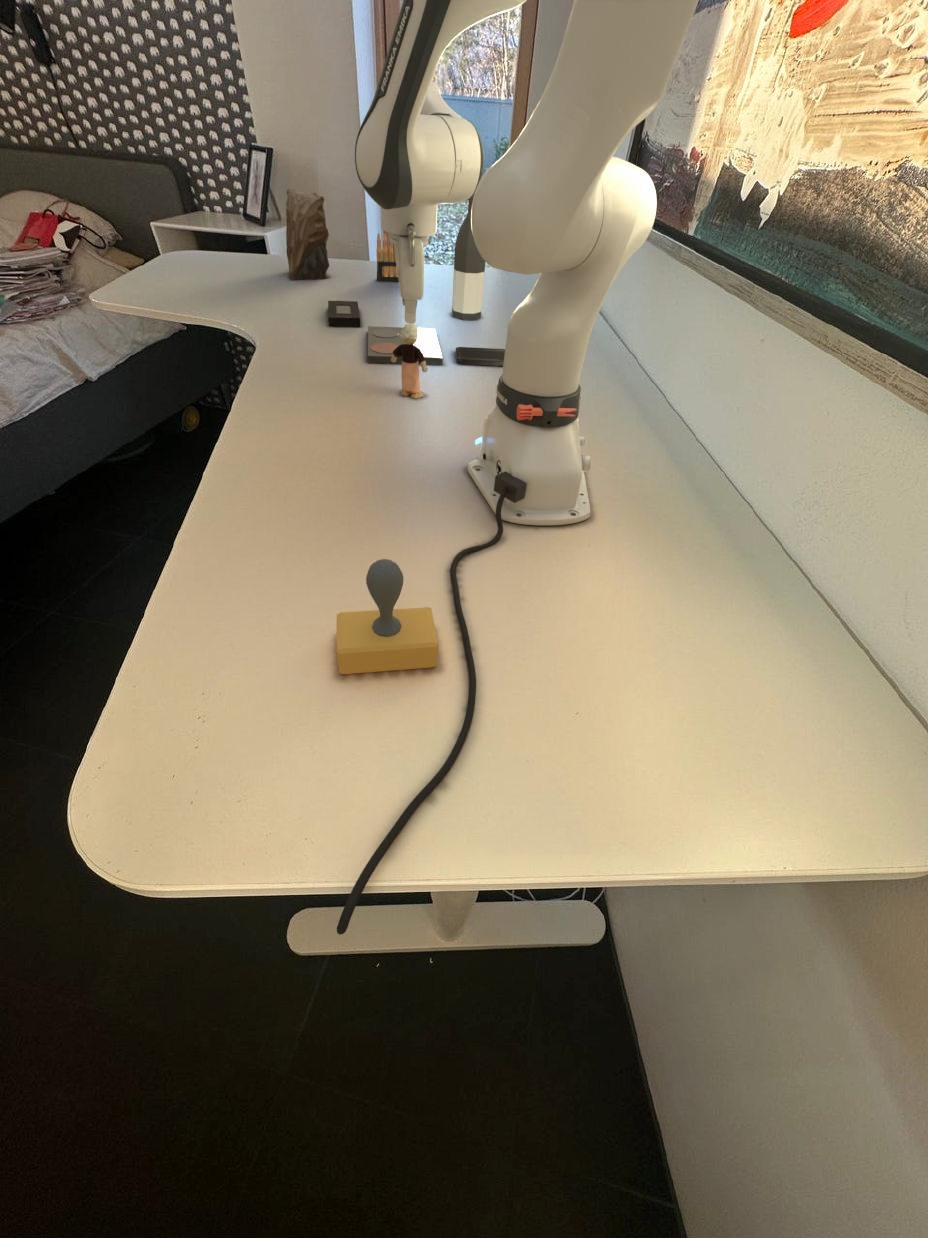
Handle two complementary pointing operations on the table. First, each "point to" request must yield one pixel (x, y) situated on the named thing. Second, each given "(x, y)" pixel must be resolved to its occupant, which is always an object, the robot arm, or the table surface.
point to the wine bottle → (467, 273)
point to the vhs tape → (343, 313)
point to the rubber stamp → (385, 629)
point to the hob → (389, 339)
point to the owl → (306, 236)
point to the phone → (480, 356)
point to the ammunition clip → (386, 261)
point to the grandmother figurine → (410, 361)
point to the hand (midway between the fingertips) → (408, 313)
